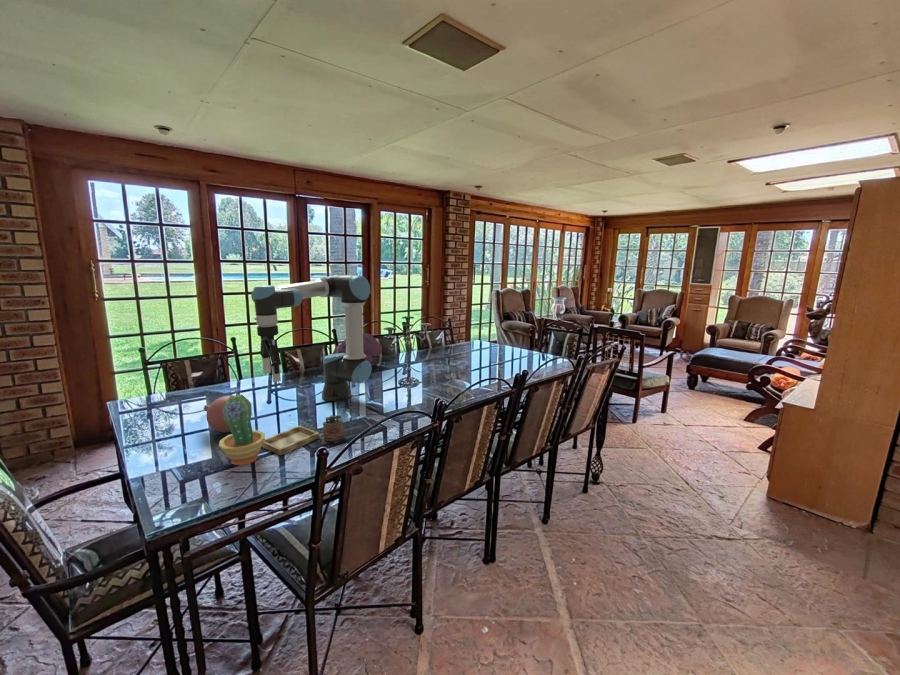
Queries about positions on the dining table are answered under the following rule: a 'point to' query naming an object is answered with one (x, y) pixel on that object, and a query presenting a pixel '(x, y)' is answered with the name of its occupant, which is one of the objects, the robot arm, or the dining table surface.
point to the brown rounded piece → (217, 415)
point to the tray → (289, 440)
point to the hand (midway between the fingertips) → (271, 377)
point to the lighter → (333, 428)
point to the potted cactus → (240, 432)
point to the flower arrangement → (369, 347)
